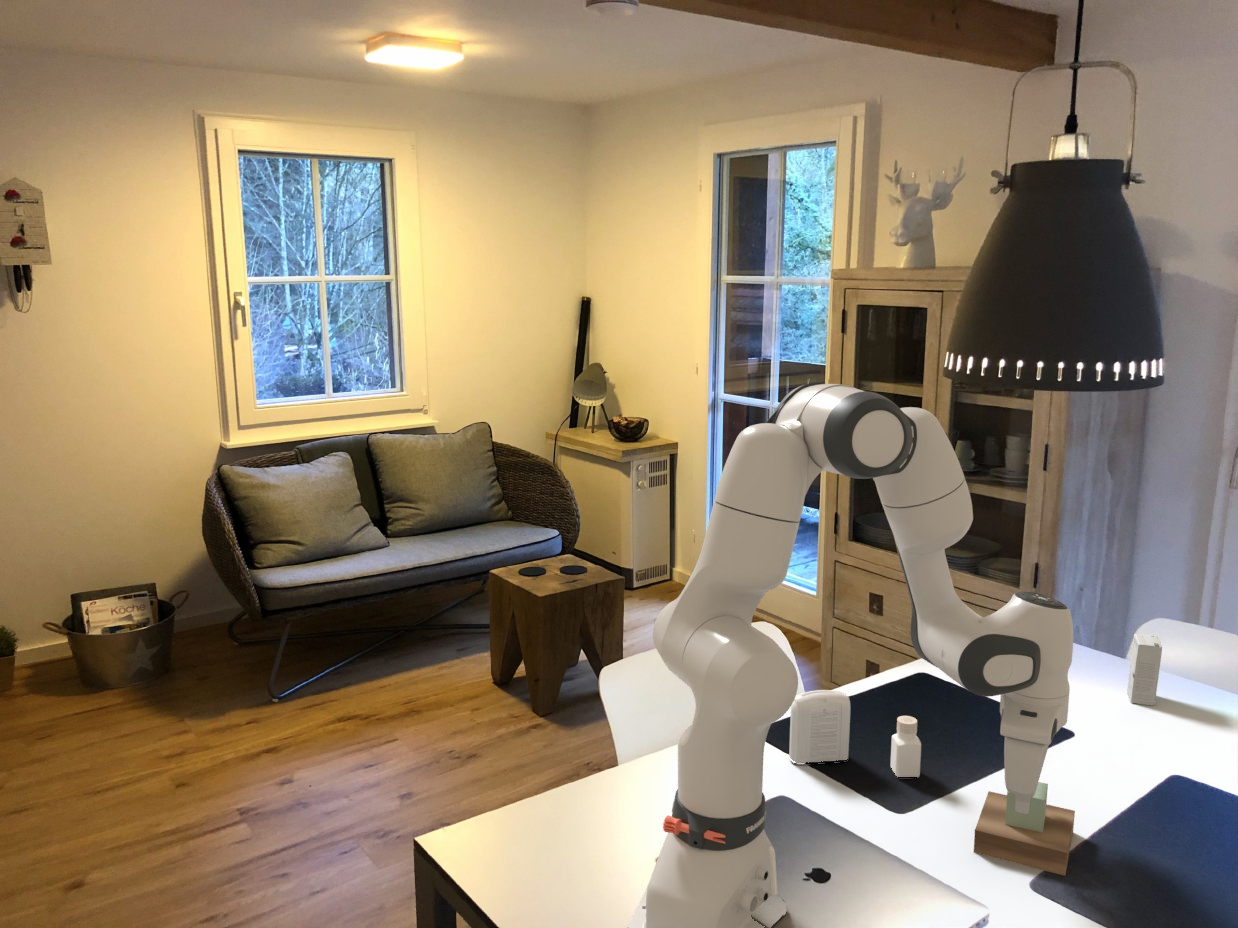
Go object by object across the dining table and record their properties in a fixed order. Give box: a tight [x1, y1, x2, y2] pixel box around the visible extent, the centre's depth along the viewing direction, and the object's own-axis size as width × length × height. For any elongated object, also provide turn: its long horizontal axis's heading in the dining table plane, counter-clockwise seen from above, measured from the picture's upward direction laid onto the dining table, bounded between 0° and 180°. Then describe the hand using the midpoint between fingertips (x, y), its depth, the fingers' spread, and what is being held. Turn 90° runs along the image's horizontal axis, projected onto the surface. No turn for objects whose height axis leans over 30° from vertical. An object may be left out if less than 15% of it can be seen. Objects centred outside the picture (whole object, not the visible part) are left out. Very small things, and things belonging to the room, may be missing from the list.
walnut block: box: [973, 790, 1076, 877], centre depth 143 cm, size 12×12×4 cm
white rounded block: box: [788, 689, 851, 763], centre depth 167 cm, size 10×4×12 cm, turn 98°
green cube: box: [1005, 781, 1049, 833], centre depth 142 cm, size 5×5×5 cm
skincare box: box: [1126, 633, 1163, 706], centre depth 188 cm, size 6×4×12 cm
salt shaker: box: [889, 715, 922, 778], centre depth 162 cm, size 4×4×10 cm
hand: (1027, 795), depth 142 cm, fingers open, 8 cm apart
